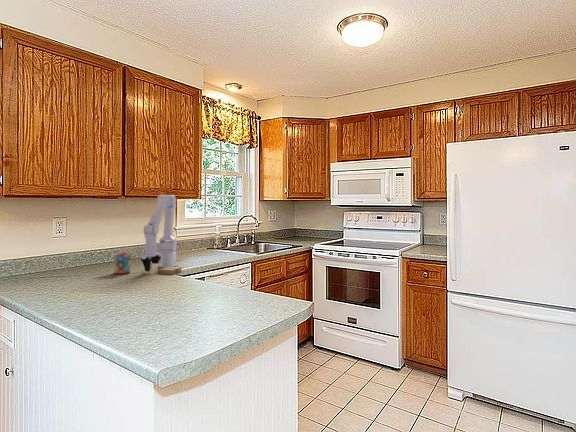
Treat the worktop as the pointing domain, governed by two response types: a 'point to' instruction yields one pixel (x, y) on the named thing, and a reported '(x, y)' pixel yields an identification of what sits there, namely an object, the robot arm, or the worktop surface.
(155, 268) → the cube
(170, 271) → the base slab
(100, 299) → the worktop surface
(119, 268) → the mug
